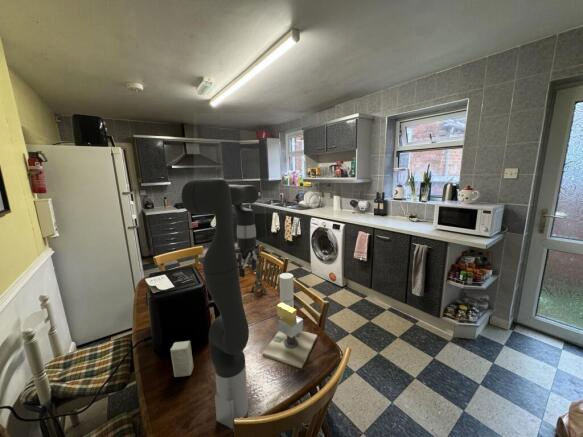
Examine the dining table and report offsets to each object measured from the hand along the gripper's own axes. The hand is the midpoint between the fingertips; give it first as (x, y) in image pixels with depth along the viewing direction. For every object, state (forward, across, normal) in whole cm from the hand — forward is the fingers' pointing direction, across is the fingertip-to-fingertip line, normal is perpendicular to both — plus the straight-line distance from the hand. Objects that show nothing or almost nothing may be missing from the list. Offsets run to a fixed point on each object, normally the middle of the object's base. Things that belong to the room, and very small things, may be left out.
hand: (248, 272), depth 97 cm
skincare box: (+36, -21, +18) cm, 46 cm away
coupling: (+28, +9, -13) cm, 33 cm away
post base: (+36, +9, -15) cm, 40 cm away
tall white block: (+36, +26, -5) cm, 45 cm away
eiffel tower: (+36, +46, +25) cm, 64 cm away
